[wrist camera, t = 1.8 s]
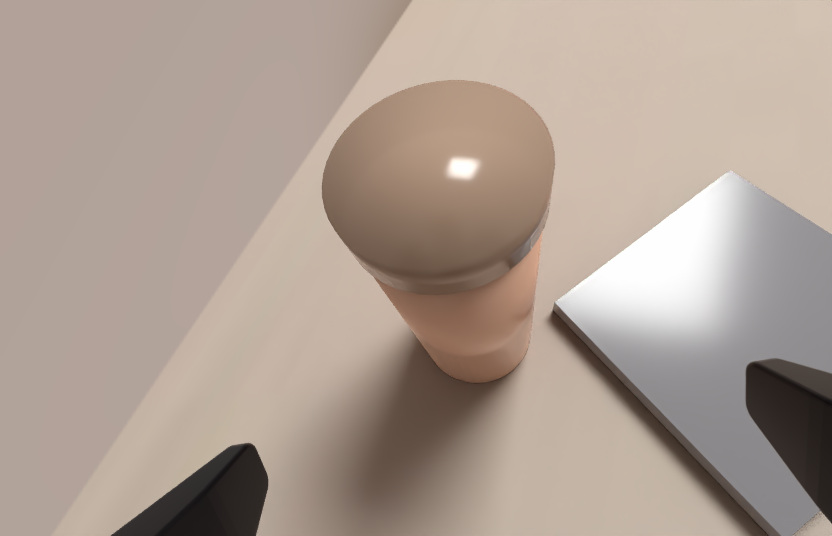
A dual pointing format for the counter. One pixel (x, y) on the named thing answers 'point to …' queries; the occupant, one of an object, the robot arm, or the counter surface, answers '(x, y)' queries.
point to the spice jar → (449, 216)
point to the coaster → (715, 330)
